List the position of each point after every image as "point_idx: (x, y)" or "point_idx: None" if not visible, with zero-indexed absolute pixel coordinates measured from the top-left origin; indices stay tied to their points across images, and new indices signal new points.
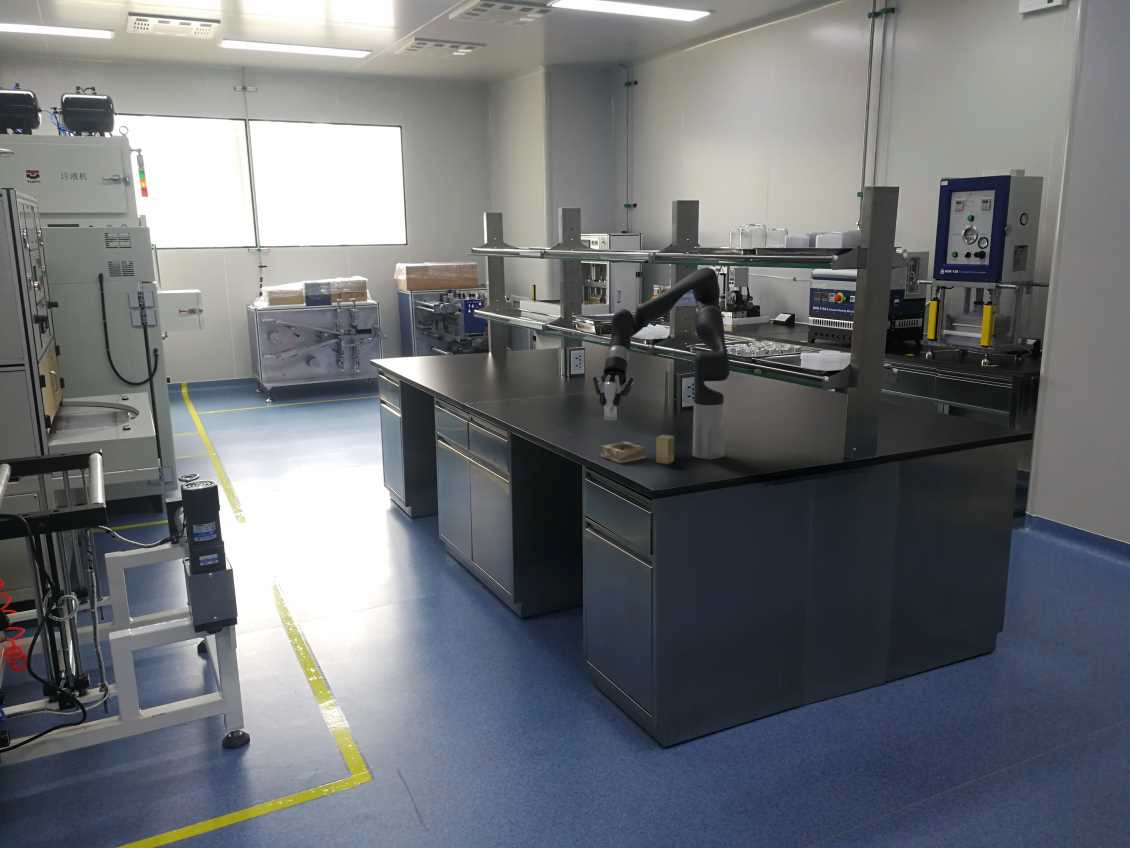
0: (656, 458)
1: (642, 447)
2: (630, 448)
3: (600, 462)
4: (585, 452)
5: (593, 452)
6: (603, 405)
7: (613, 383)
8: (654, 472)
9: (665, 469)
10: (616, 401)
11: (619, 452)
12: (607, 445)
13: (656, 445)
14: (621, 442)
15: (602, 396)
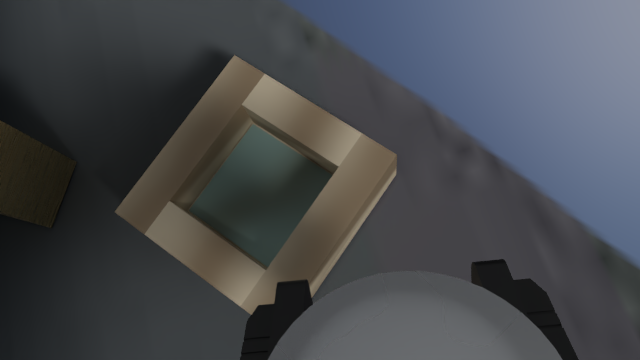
0: (62, 154)
1: (131, 203)
2: (197, 155)
3: (360, 76)
4: (529, 254)
5: None
6: None
7: (299, 326)
8: (65, 7)
9: (22, 69)
10: (283, 293)
11: (242, 60)
12: (357, 178)
13: (17, 130)
14: None
15: None
